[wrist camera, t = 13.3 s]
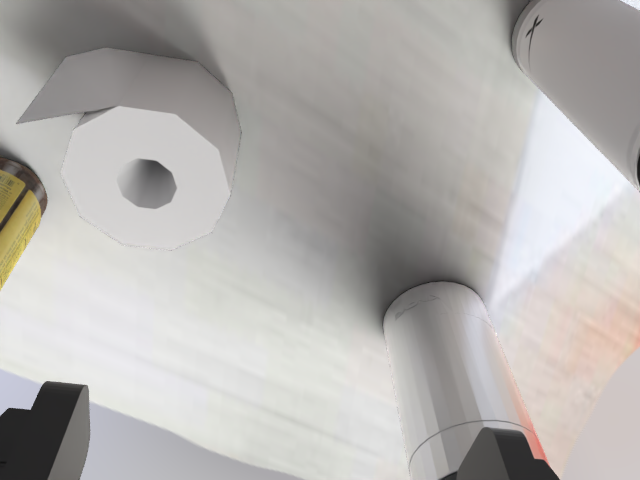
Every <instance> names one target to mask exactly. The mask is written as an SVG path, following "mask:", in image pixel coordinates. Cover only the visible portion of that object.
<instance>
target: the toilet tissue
mask: <svg viewBox="0 0 640 480" xmlns="http://www.w3.org/2000/svg"><path fill="white" fill-rule="evenodd" d="M81 112H86V113H85V114H84V116H83V117H82V118H81V120H80V121H79V123H78V124H77V125H76V127H75V128H74V129H73V132H72V135H71V138H70V142H69V145H68V148H67V151H66V155H65V158H64V161H63V164H62V168H61V171H60V175H61V177H62V179H63V181H64V184H65V186H66V188H67V190H68V192H69V194H70V197H71V199H72V201H73V203H74V205H75V207H76V210H77V212H78V214H79V216H80V217H81V218H82V219H84V220H85V221H87V222H88V223H90V224H91V225H93V226H94V227H96V228H97V229H99V230H100V231H102V232H103V233H105V234H106V235H108V236H109V237H111V238H112V239H114V240H115V241H117V242H118V243H120V244H121V245H125V246H134V247H143V248H151V249H160V250H169V251H172V250H174V249H176V248H178V247H181V246H183V245H185V244H187V243H190V242H192V241H194V240H196V239H199V238H201V237H203V236H205V235H208V234H210V233H212V231H213V229H214V227H215V225H216V224H217V222H218V220H219V218H220V216H221V214H222V212H223V210H224V208H225V206H226V204H227V202H228V200H229V198H230V196H231V192H232V186H233V180H234V174H235V168H236V162H237V156H238V151H239V145H240V139H241V133H242V132H241V128H240V124H239V120H238V116H237V111H236V107H235V103H234V99H233V95H232V92H231V91H230V90H229V89H227V88H226V87H225V86H224V85H223V84H222V83H221V82H220V81H219V80H217V79H216V78H215V77H214V76H213V75H212V74H211V73H210V72H208V71H207V70H206V69H205V68H204V67H203V66H202V65H201V64H200V63H198V62H196V61H190V60H184V59H177V58H171V57H165V56H158V55H152V54H146V53H139V52H133V51H127V50H120V49H114V48H107V47H105V48H101V49H97V50H92V51H88V52H84V53H80V54H76V55H71V56H67V57H65V59H64V60H63V61H62V63H61V64H60V65H59V67H58V68H57V69H56V71H55V72H54V73H53V75H52V76H51V77H50V79H49V80H48V81H47V83H46V84H45V85H44V87H43V88H42V89H41V91H40V92H39V93H38V95H37V96H36V97H35V99H34V100H33V101H32V103H31V104H30V105H29V107H28V108H27V109H26V111H25V112H24V113H23V115H22V116H21V117H20V119H19V120H18V122H17V123H16V124H19V123H25V122H30V121H36V120H42V119H47V118H53V117H59V116H64V115H70V114H75V113H81Z"/></svg>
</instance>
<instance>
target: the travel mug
mask: <svg viewBox="0 0 640 480" xmlns="http://www.w3.org/2000/svg"><path fill="white" fill-rule="evenodd" d="M512 53H513V57H514V59H515V62H516V64H517V65H518V67H519V68H520V70H521V71H522V72H523V73H524V74H525V75H526V76H527V77H528V78H529V79H530V80H531V81H532V82H533V83H534V84H535V85H536V86H537V87H538V88H539V89H540V90H541V91H542V92H543V93H544V94H545V95H546V96H547V97H548V98H549V100H550V101H551V102H552V103H553V104H554V105H555V106H556V107H557V108H558V109H559V110H560V111H561V112H562V113H563V114H564V115H565V116H566V117H567V118H568V119H569V120H570V121H571V122H572V123H573V124H574V125H575V126H576V127H577V128H578V129H579V130H580V131H581V132H582V133H583V134H584V136H585V137H586V138H587V139H588V140H589V141H590V142H591V143H592V144H593V145H594V146H595V147H596V148H597V149H598V150H599V151H600V152H601V153H602V154H603V155H604V156H605V157H606V158H607V159H608V160H609V161H610V162H611V163H612V164H613V165H614V166H615V167H616V168H617V169H618V170H619V172H620V173H621V174H622V175H623V176H624V177H625V178H626V179H627V180H628V181H629V182H630V183H631V184H632V185H633V186H634V187H635V188H636V189H637V190H638V191H639V192H640V10H638V9H636V8H634V7H632V6H630V5H628V4H626V3H624V2H622V1H620V0H532V1H531V2H530V3H529V4H528V5H527V6H526V7H525V9H524V10H523V11H522V13H521V14H520V16H519V18H518V20H517V22H516V25H515V27H514V31H513V35H512Z"/></svg>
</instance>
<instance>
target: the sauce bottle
mask: <svg viewBox="0 0 640 480" xmlns="http://www.w3.org/2000/svg"><path fill="white" fill-rule="evenodd" d="M46 206H47V194H46V191H45V189H44V187H43V185H42V183H41V181H40V180H39V179H38V177H37V176H36V174H35V173H33V172H32V171H31V170H30V169H29V168H27V167H25V166H23V165H21V164H20V163H17V162H14V161H12V160H9V159H6V158H1V157H0V290H1V289H2V287H3V285H4V283H5V282H6V280H7V278H8V277H9V275H10V273H11V272H12V270H13V268H14V266H15V265H16V263H17V261H18V260H19V258H20V256H21V255H22V253H23V251H24V250H25V248H26V246H27V245H28V243H29V241H30V240H31V238H32V236H33V234H34V233H35V231H36V229H37V228H38V226H39V224H40V220H41V217H42V215H43V213H44V211H45V209H46Z"/></svg>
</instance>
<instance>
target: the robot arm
mask: <svg viewBox="0 0 640 480" xmlns="http://www.w3.org/2000/svg"><path fill="white" fill-rule="evenodd" d="M383 329H384V335H385V341H386V347H387V352H388V358H389V364H390V370H391V375H392V381H393V386H394V392H395V397H396V403H397V408H398V413H399V419H400V424H401V430H402V435H403V441H404V446H405V452H406V457H407V463H408V468H409V472H410V478H411V480H560V479H559V478H558V476H557V475H556V474H555V473H554V471H553V470H552V469H551V467H550V465H549V462H548V460H547V457H546V455H545V452H544V450H543V447H542V445H541V443H540V441H539V438H538V436H537V433H536V431H535V428H534V426H533V423H532V421H531V419H530V416H529V414H528V411H527V409H526V406H525V404H524V401H523V399H522V396H521V394H520V392H519V389H518V387H517V384H516V382H515V379H514V377H513V374H512V372H511V369H510V367H509V364H508V362H507V360H506V357H505V355H504V352H503V350H502V347H501V345H500V342H499V340H498V337H497V334H496V332H495V330H494V327H493V325H492V322H491V320H490V317H489V315H488V312H487V310H486V307H485V305H484V303H483V301H482V300H481V298H480V296H479V295H478V294H476V293H475V292H474V291H473V290H472V289H470V288H468V287H466V286H464V285H461V284H457V283H453V282H431V283H427V284H423V285H419V286H417V287H414V288H412V289H410V290H408V291H406V292H405V293H403V294H401V295H400V296H399V297H398V298H397V299H396V300H394V301H393V303H392V304H391V305H390V307H389V308H388V309H387V312H386V314H385V316H384V321H383ZM89 418H90V417H89V390H88V386H87V385H81V384H71V383H61V382H51V381H46V382H45V383H44V384H43V385H42V387H41V389H40V391H39V393H38V395H37V398H36V400H35V402H34V404H33V406H32V408H31V410H25V409H16V408H8V409H7V410H6V411H5V412H4V413H3V414H2V415H1V416H0V480H80V476H81V474H82V470H83V467H84V464H85V461H86V457H87V452H88V447H89V440H90V419H89Z"/></svg>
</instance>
